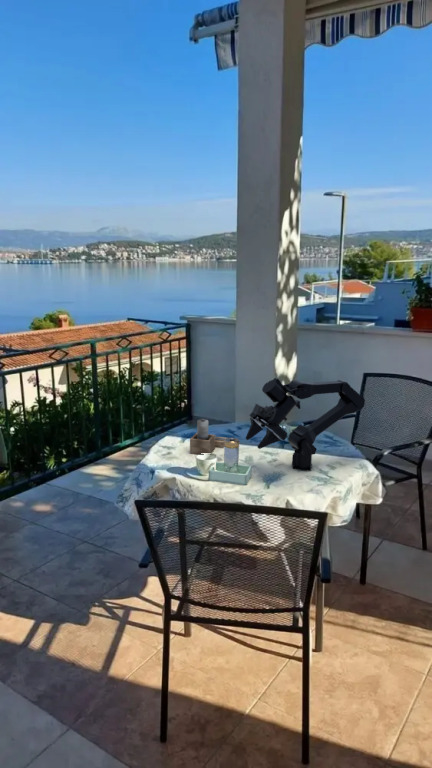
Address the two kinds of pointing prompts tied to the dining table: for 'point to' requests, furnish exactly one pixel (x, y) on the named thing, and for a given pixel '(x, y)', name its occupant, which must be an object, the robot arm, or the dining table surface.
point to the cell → (231, 455)
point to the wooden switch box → (220, 442)
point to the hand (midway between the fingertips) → (252, 443)
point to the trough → (230, 474)
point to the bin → (202, 439)
